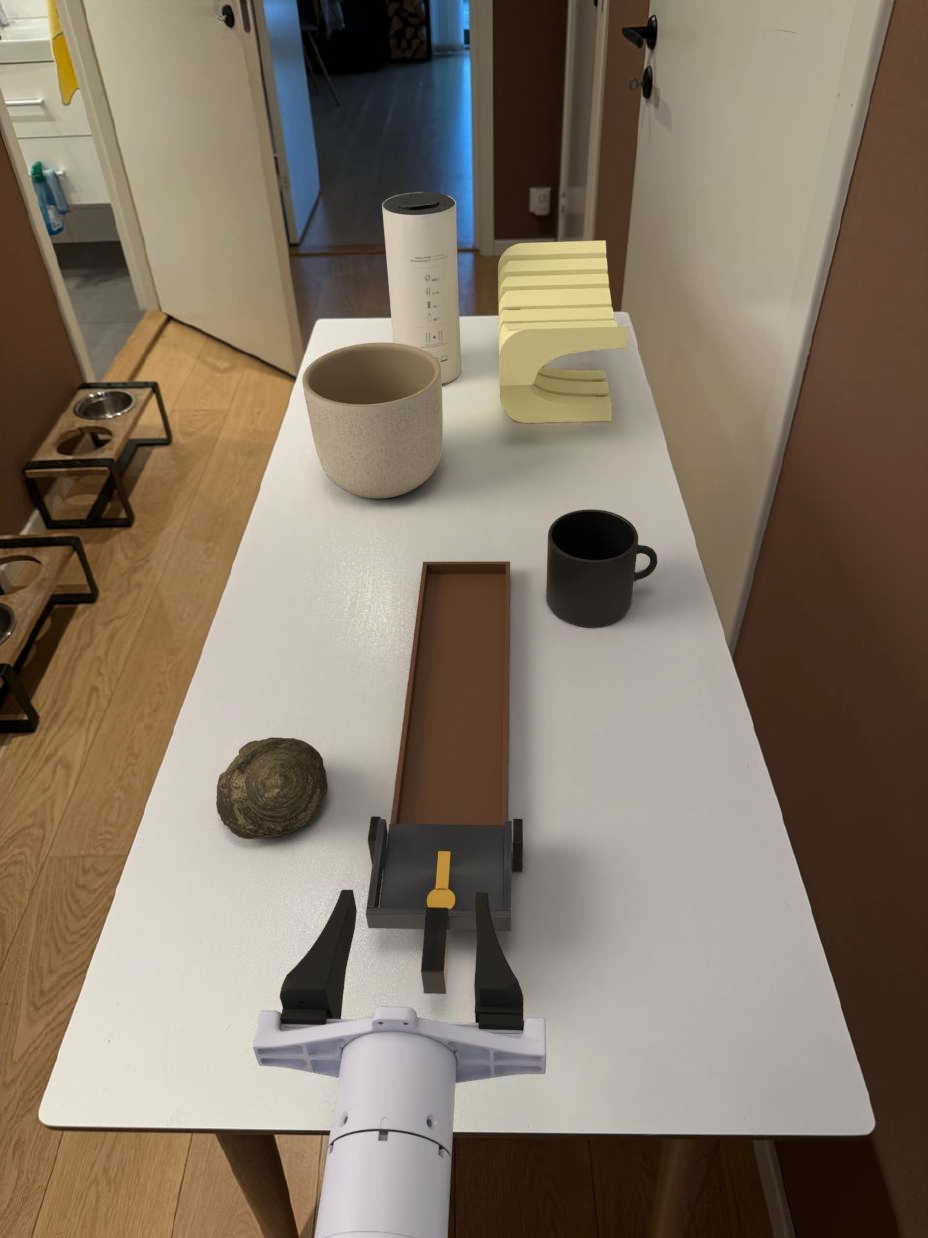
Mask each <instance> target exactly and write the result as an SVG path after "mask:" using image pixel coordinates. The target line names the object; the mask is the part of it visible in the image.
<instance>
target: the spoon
mask: <svg viewBox="0 0 928 1238" xmlns="http://www.w3.org/2000/svg"><path fill="white" fill-rule="evenodd" d="M450 860H451V852H450V851H438V862H437V875H436V889H434V890H432V891H431V892H430V893H429V895H428V897H427V906H428V907H444V908H448V909H454V907H455V903H456V900H455V895H454V894H453V892H452V891H451V890H449V876H450Z"/></svg>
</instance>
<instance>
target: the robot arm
mask: <svg viewBox="0 0 928 1238" xmlns="http://www.w3.org/2000/svg"><path fill="white" fill-rule="evenodd" d="M333 907H334V908H333V910H332V912H331V914H330V916H329V918H328V920H327V922H326V924H324V927H323V928H322V930H321V932H320V934H319V935H318V936H317V938H316V940H315V941H314V943H313V945H312V946H311V947H310V948H309V950H308V951H307V952H306V953H305V955H304V956H303V957H302V959H300V961H298V963H297V964H296V965H295V966H294V967H293V968H292V969H291V970H290V971H289V972H288V973H287V974H286V976H285V978H284V979H283V981H282V985H281V986H280V987H281V988H280V992H279V1000H280V1003H281V1006H282V1009H281V1011H279V1010H260V1011H259V1015H258V1019H257V1024H256V1029H255V1033H254V1038H253V1041H252V1046H251V1047H252V1050H253V1053H254V1055H255V1059H256V1062H257V1064H258V1065H259V1066H260V1067H274V1068H283V1069H284V1068H285V1069H291V1070H297V1071H301V1072H302V1071H303V1072H306V1073H307V1072H308V1073H311V1074H316V1075H322V1076H327V1077H332V1078H337V1084H336V1085H337V1086H336V1093H335V1098H334V1105H333V1112H332V1119H331V1124H330V1132H329V1137H328V1144H327V1152H326V1157H325V1158H326V1159H325V1165H324V1171H323V1172H324V1173H323V1178H322V1179H323V1180H322V1186H321V1191H320V1192H321V1193H320V1198H319V1205H318V1210H317V1211H318V1212H317V1217H316V1225H315V1231H314V1238H448V1235H449V1217H450V1216H449V1215H450V1195H451V1175H452V1159H453V1158H452V1157H453V1139H454V1137H453V1136H454V1120H455V1103H456V1102H455V1101H456V1084H461V1083H467V1082H475V1081H481V1080H487V1079H488V1080H489V1079H495V1078H502V1077H511V1076H518V1075H545V1074H546V1072H547V1070H546V1069H547V1027H546V1025H547V1023H546V1018H545V1017H526V1018H524V994H523V990H522V987H521V985H520V982H519V979H518V978H517V976H516V975H515V973H514V971H513V970H512V968H511V966H510V964H509V962H508V960H507V957H506V956H505V953H504V951H503V949H502V946H501V944H500V941H499V937H498V936H497V934H496V931H495V929H494V926H493V922H492V918H491V914H490V909H489V900H488V893H487V892H476V898H475V913H476V930H475V931H476V951H475V967H474V981H473V982H474V983H473V987H474V1022H465V1021H464V1022H461V1021H438V1020H433V1019H429V1018H423V1017H419V1016H418V1013H417V1011H416V1010H415V1009H414V1008H412V1007H408V1006H388V1005H387V1006H386V1005H385V1006H384V1005H382V1006H381V1005H380V1006H377V1007H375V1008H374V1009H373V1011H372V1016H367V1017H361V1018H356V1019H351V1018H350V1019H349V1018H348V1019H345V1018H342V1015H343V1014H342V1013H343V1012H342V1011H343V1003H344V1001H343V1000H344V993H345V992H344V991H345V983H346V974H347V968H348V962H349V957H350V954H351V953H350V952H351V948H352V944H353V939H354V935H355V929H356V923H357V912H358V910H357V904H356V898H355V893H354V889H342V890H340V892H339V895H338V898H337V901H336V903H335V906H333Z"/></svg>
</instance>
